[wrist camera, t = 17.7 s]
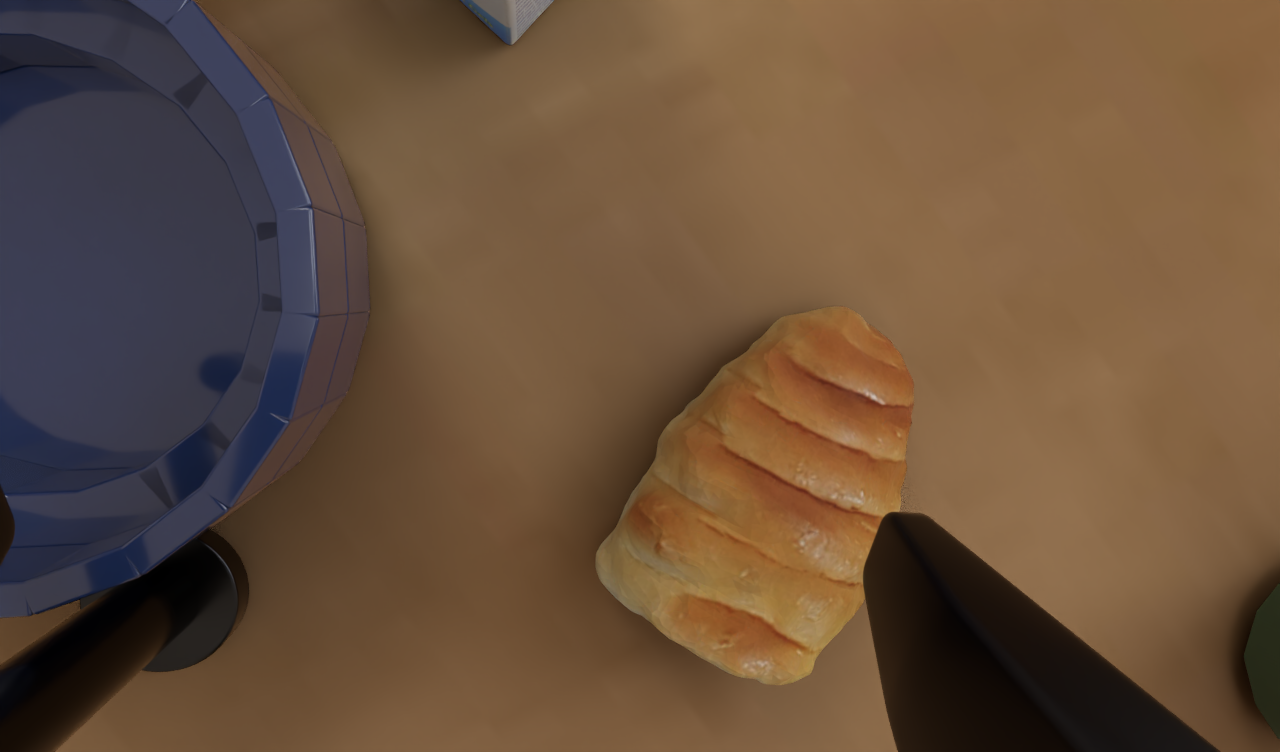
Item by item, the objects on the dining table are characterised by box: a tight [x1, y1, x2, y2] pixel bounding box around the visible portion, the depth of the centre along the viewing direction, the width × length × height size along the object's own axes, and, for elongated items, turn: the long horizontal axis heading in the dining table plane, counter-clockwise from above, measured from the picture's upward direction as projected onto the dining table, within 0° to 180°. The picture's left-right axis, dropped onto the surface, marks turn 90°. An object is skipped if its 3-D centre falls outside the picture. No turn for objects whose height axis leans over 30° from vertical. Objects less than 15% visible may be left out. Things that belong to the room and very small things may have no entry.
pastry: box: [595, 306, 914, 685], centre depth 19 cm, size 9×7×4 cm
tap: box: [0, 530, 249, 752], centre depth 15 cm, size 7×4×9 cm, turn 10°
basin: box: [0, 0, 370, 618], centre depth 16 cm, size 13×13×5 cm
